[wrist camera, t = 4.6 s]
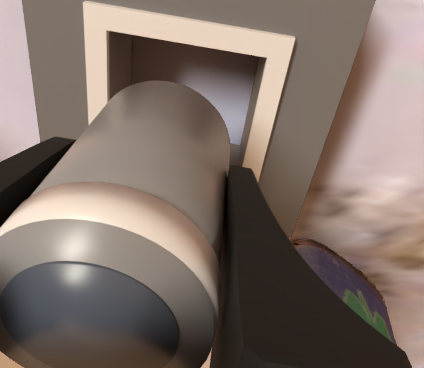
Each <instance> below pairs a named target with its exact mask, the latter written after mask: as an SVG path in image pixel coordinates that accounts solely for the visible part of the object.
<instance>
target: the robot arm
mask: <svg viewBox="0 0 424 368" xmlns="http://www.w3.org/2000/svg"><path fill="white" fill-rule="evenodd" d="M75 141H76V140H74V139H68V138H62V137H56V136H55V137H53V138H50V139H48V140H45V141H43V142H41V143H39V144H37V145H35V146H32V147H30V148H28V149H26V150H24V151H22V152H20V153H18V154H16V155H14V156H12V157H10V158H8V159H6V160H4V161H1V162H0V227H1V226H2V225H3V224H4V223H5V221H6V220H7V219H8V218H9V217H10V215H11V214H12V213H13V212H14V211H15V210H16V209H17V208H18V207H19V205H20V204H21V203H22V202H24V201H25V200H26V199H28V198H29V197H30V196H31V195H32V193H33V192H34V191H35V190H36V189H37V187H38V186H39V185H40V184H41V183H42V181H43V180H44V179H45V178H46V176H47V175H48V174H49V173H50V172H51V170H52V169H53V168H54V167H55V166H56V164H57V163H58V162H59V161H60V160H61V158H62V157H63V156H64V155H65V154H66V152H67V151H68V150H69V149H70V148H71V146H72V145H73V144H74V143H75ZM220 274H221V283H220V297H219V309H218V321H217V329H216V333H215V337H214V339H213V343H212V351H211V361H210V368H412V366H411V364H410V362H409V360H408V357H407V355H406V353H405V352H404V351H403V350H402V349H400V348H399V347H398V346H397V345H395V344H394V343H393V342H391V341H390V340H389V339H388V338H386V337H385V336H384V335H382V334H381V333H380V332H379V331H377V330H376V329H375V328H374V327H372V326H371V325H370V324H368V323H367V322H366V321H365V320H364V319H362V318H361V317H360V316H359V315H358V314H357V313H356V312H355V311H354V310H352V309H351V308H350V307H349V306H348V305H347V304H346V303H345V302H343V301H342V300H341V299H340V298H339V297H338V296H337V295H336V294H335V293H334V292H333V291H332V290H331V289H330V288H329V287H328V286H327V285H326V284H325V283H324V281H323V280H322V279H321V278H320V277H319V276H318V275H317V274H316V273H315V272H314V271H313V270H312V269H311V267H310V266H309V265H308V264H307V263H306V262H305V260H304V259H303V258H302V256H301V255H300V254H299V253H298V251H297V250H296V249H295V247H294V246H293V244H292V243H291V241H290V240H289V239H288V237H287V236H286V234H285V232H284V231H283V229H282V228H281V226H280V225H279V223H278V221H277V220H276V218H275V216H274V214H273V212H272V211H271V209H270V207H269V205H268V203H267V201H266V199H265V197H264V195H263V193H262V191H261V189H260V187H259V184H258V182H257V179H256V177H255V174H254V172H253V170H252V169H251V168H246V167H240V166H233V165H230V168H229V173H228V178H227V189H226V200H225V213H224V224H223V236H222V247H221V258H220Z"/></svg>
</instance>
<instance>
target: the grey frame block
mask: <svg viewBox="0 0 424 368" xmlns="http://www.w3.org/2000/svg"><path fill="white" fill-rule="evenodd" d="M375 1H376V0H22V5H23V12H24V20H25V28H26V35H27V43H28V51H29V58H30V66H31V74H32V81H33V89H34V97H35V104H36V112H37V120H38V127H39V135H40V143H41V142H43V141H45V140H48V139H50V138H53V137H55V136H56V137H62V138H68V139H74V140H77V139H78V138H79V137H80V135H81V134H82V133H83V132H84V131H85V129H86V128H87V127H88V126H89V125H90V123H91V122H92V121H93V120H94V119H95V117H96V116H97V115H98V114H99V113H100V111H101V110H102V109H103V108H104V106H105V105H106V104H107V103H108V102H109V101H110V100H111V98H112V97H113V96H114V95H116V94H117V93H118V92H120V91H121V90H123V89H124V88H126V87H128V86H131V79H132V36H133V35H137V36H143V37H149V38H154V39H160V40H166V41H172V42H178V43H184V44H189V45H195V46H201V47H207V48H213V49H219V50H225V51H230V52H236V53H242V54H248V55H254V56H259V60H258V65H257V69H256V74H255V79H254V83H253V88H252V93H251V98H250V102H249V107H248V112H247V116H246V121H245V126H244V130H243V135H242V140H241V145H235V144H230V158H229V168H230V165H233V166H240V167H246V168H251V169H252V170H253V172H254V174H255V177H256V179H257V182H258V184H259V187H260V189H261V191H262V193H263V195H264V197H265V199H266V201H267V203H268V205H269V207H270V209H271V211H272V212H273V214H274V216H275V218H276V220H277V221H278V223H279V225H280V226H281V228H282V229H283V231H284V232H285V234H286V236H288V237H291V236H292V234H293V231H294V228H295V225H296V222H297V220H298V217H299V214H300V211H301V208H302V206H303V203H304V200H305V197H306V194H307V192H308V189H309V186H310V183H311V180H312V177H313V175H314V172H315V169H316V166H317V163H318V161H319V158H320V155H321V152H322V149H323V147H324V144H325V141H326V138H327V135H328V133H329V130H330V127H331V124H332V121H333V119H334V116H335V113H336V110H337V107H338V105H339V102H340V99H341V96H342V93H343V91H344V88H345V85H346V82H347V79H348V77H349V74H350V71H351V68H352V65H353V63H354V60H355V57H356V54H357V51H358V49H359V46H360V43H361V40H362V37H363V34H364V32H365V29H366V26H367V23H368V20H369V18H370V15H371V12H372V9H373V6H374V4H375ZM228 173H229V169H228Z"/></svg>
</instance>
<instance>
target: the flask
mask: <svg viewBox="0 0 424 368" xmlns="http://www.w3.org/2000/svg"><path fill="white" fill-rule="evenodd" d="M294 243H298V244H300V245H293V246H294V247H295V249H296V250H297V251H298V253H299V254H300V255H301V256H302V258H303V259H304V260H305V262H306V263H307V264H308V265H309V266H310V267H311V269H312V270H313V271H314V272H315V273H316V274H317V275H318V276H319V277H320V278H321V279H322V280H323V281H324V283H325V284H326V285H327V286H328V287H329V288H330V289H331V290H332V291H333V292H334V293H335V294H336V295H337V296H338V297H339V298H340V299H341V300H342V301H343V302H345V303H346V304H347V305H348V306H349V307H350V308H351V309H352V310H354V311H355V312H356V313H357V314H358V315H359V316H360V317H361V318H362V319H364V320H365V321H366V322H367V323H368V324H370V325H371V326H372V327H374V328H375V329H376V330H377V331H379V332H380V333H381V334H382V335H384V336H385V337H386V338H388V339H389V340H390V341H391V342H393V343H394V344H395V345H397V344H396V341H395V338H394V336H393V331H392V328H391V324H390V321H389V317H388V313H387V307H386V305H385V301H384V300H383V297H382V294H380V292H379V291H378V290H377V289H376V286H375V285H374V284H372V283H371V280H369V278H368V277H367V276H365V275H364V274H363V273H362V272H361V271H358V270H357V269H355V267H353V266H352V264H350V263H349V262H347V261H346V260H345V259H343V258H342V257H340V256H339V255H338V254H336V252H334V251H332V250H330V249H329V248H328V247H327V246H325V245H322V244H321V243H318V242H315V241H313V240H308V239H307V238H306V239H299V240H296V241H295V242H293V243H292V244H294Z"/></svg>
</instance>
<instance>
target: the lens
mask: <svg viewBox="0 0 424 368" xmlns="http://www.w3.org/2000/svg"><path fill="white" fill-rule="evenodd" d="M229 158H230V138H229V134H228V130H227V127H226V125H225V122H224V120H223V119H222V117H221V115H220V114H219V112H218V111H217V110H216V108H215V107H214V106H213V105H212V104H211V103H210V102H209V101H208V100H207V99H206V98H205V97H203V96H202V95H201V94H199V93H197V92H196V91H194V90H193V89H190V88H188V87H186V86H184V85H181V84H177V83H174V82H169V81H158V80H153V81H144V82H140V83H136V84H133V85H131V86H128V87H126V88H124V89H123V90H121V91H120V92H118V93H117V94H116V95H114V96H113V97H112V98H111V100H110V101H109V102H108V103H107V104H106V105H105V106H104V108H103V109H102V110H101V111H100V113H99V114H98V115H97V116H96V117H95V119H94V120H93V121H92V122H91V123H90V125H89V126H88V127H87V128H86V129H85V131H84V132H83V133H82V134H81V135H80V137H79V138H78V139H77V140H76V141H75V143H74V144H73V145H72V146H71V148H70V149H69V150H68V151H67V152H66V154H65V155H64V156H63V157H62V158H61V160H60V161H59V162H58V163H57V164H56V166H55V167H54V168H53V169H52V170H51V172H50V173H49V174H48V175H47V176H46V178H45V179H44V180H43V181H42V183H41V184H40V185H39V186H38V187H37V189H36V190H35V191H34V192H33V193H32V195H31V196H30V197H29V198H28V199H26V200H25V201H24V202H22V203H21V204H20V205H19V207H18V208H17V209H16V210H15V211H14V212H13V213H12V214H11V215H10V217H9V218H8V219H7V220H6V221H5V223H4V224H3V225H2V226H1V227H0V351H1V352H2V353H4V354H5V355H6V356H8V357H9V358H10V359H12V360H13V361H15V362H16V363H18V364H19V365H21V366H22V367H24V368H201V366H202V365H203V364H204V362H205V361H206V360H207V358H208V355H209V353H210V351H211V348H212V343H213V339H214V337H215V333H216V329H217V321H218V309H219V297H220V283H221V274H220V258H221V247H222V236H223V224H224V213H225V200H226V189H227V178H228V169H229Z"/></svg>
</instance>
